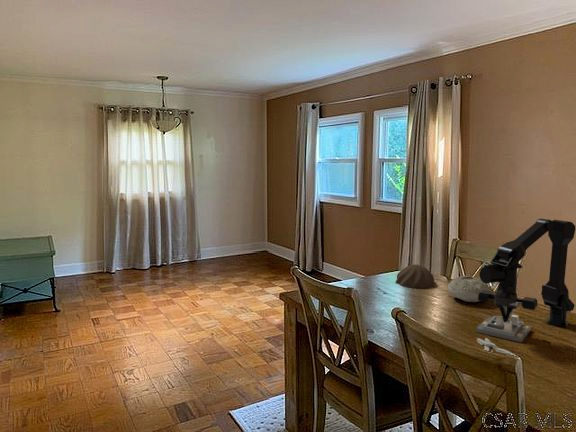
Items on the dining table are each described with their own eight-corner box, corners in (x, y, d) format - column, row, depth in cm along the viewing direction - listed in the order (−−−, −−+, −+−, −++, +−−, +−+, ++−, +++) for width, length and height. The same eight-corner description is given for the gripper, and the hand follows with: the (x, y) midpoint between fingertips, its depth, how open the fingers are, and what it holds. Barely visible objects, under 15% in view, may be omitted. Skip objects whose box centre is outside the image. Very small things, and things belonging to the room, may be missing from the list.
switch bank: (487, 321, 170) (487, 314, 170) (530, 330, 160) (530, 323, 160) (475, 332, 159) (476, 325, 159) (521, 342, 149) (521, 335, 149)
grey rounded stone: (499, 302, 192) (500, 280, 191) (470, 308, 185) (471, 285, 183) (466, 291, 208) (467, 271, 207) (438, 297, 201) (439, 276, 199)
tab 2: (504, 330, 157) (504, 320, 156) (513, 332, 155) (514, 322, 154) (502, 332, 154) (502, 323, 154) (511, 334, 152) (511, 325, 152)
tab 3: (510, 323, 163) (511, 314, 163) (519, 324, 161) (520, 315, 161) (508, 325, 161) (509, 316, 161) (517, 327, 159) (518, 318, 159)
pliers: (490, 357, 136) (467, 338, 151) (490, 362, 136) (467, 342, 151) (521, 356, 136) (495, 337, 151) (520, 361, 136) (495, 341, 151)
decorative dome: (437, 280, 229) (437, 262, 228) (431, 290, 212) (432, 270, 210) (400, 276, 238) (400, 259, 237) (391, 286, 220) (392, 266, 219)
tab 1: (496, 324, 162) (496, 315, 162) (504, 325, 161) (505, 316, 160) (493, 326, 160) (494, 317, 160) (502, 328, 158) (503, 319, 158)
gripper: (473, 281, 157) (472, 322, 159) (532, 290, 145) (529, 335, 147) (483, 274, 165) (481, 314, 167) (538, 283, 153) (536, 325, 155)
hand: (505, 322), depth 159 cm, fingers closed
